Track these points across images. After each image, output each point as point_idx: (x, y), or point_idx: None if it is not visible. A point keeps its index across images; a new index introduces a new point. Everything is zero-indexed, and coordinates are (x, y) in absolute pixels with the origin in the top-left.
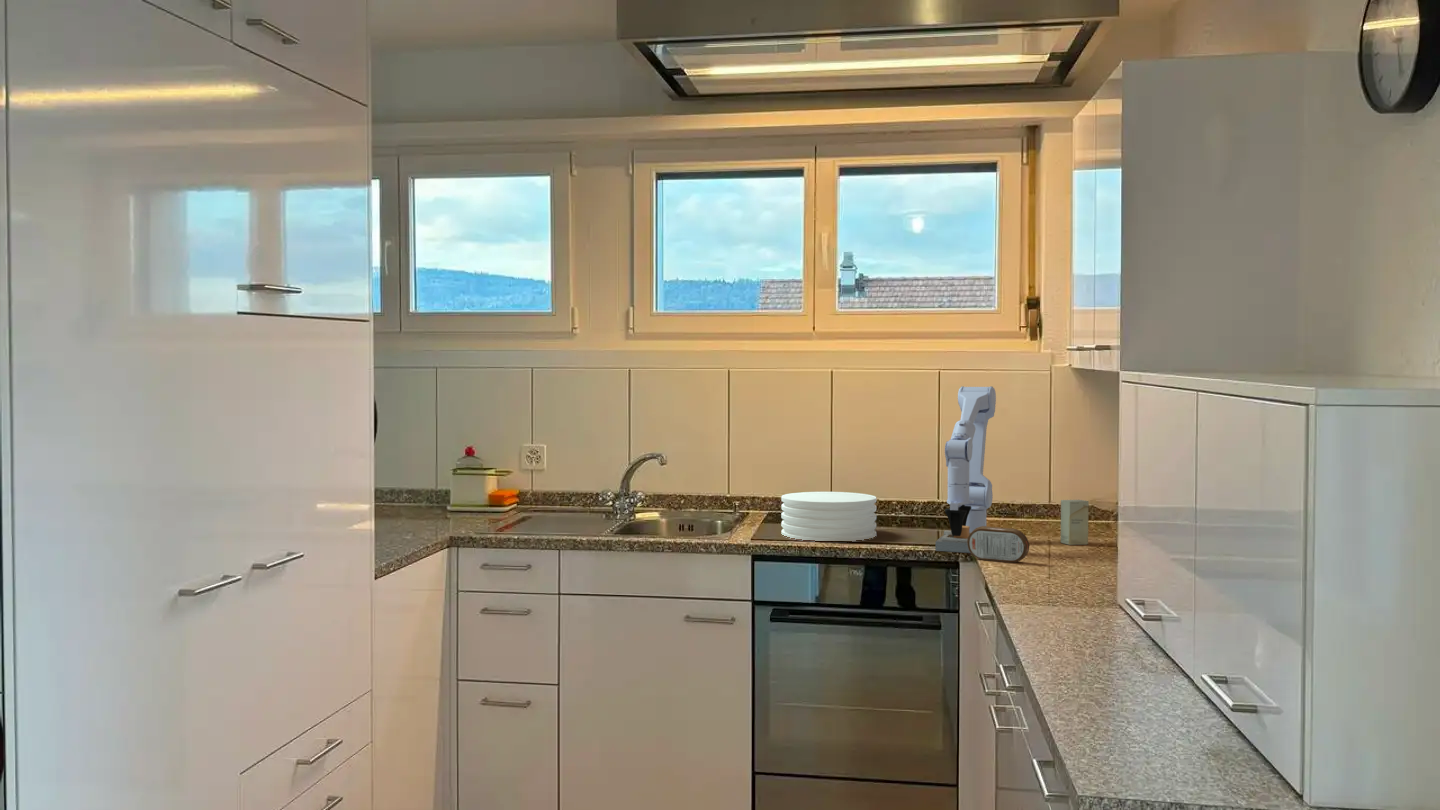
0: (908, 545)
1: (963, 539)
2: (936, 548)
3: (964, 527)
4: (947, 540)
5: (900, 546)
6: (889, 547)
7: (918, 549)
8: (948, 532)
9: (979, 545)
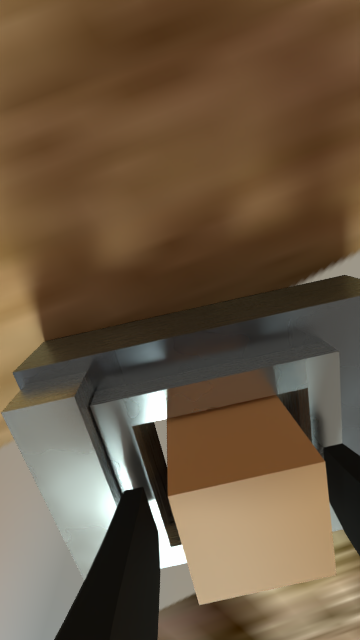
0: (251, 599)
1: (337, 398)
2: None
3: (309, 498)
4: None
5: (295, 607)
6: (341, 620)
7: (341, 534)
8: None
9: None
